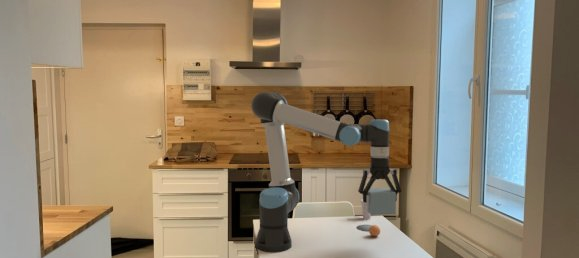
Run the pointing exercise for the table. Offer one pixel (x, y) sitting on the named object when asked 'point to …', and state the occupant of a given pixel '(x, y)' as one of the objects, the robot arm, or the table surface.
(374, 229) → the brown egg
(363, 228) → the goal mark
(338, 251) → the table surface
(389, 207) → the blue-grey block
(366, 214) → the smoothie
